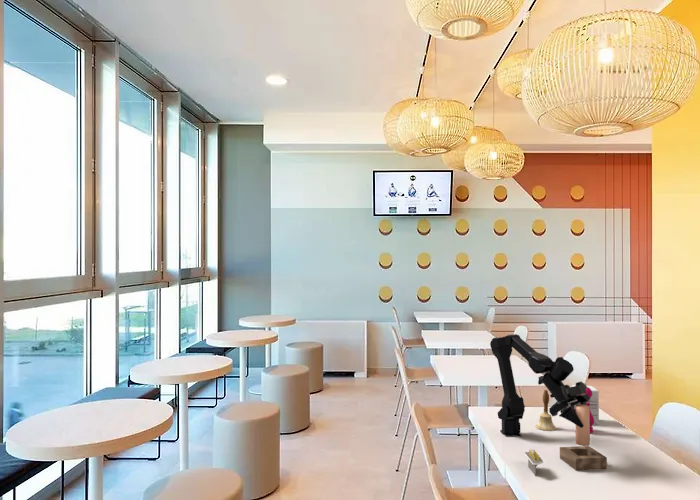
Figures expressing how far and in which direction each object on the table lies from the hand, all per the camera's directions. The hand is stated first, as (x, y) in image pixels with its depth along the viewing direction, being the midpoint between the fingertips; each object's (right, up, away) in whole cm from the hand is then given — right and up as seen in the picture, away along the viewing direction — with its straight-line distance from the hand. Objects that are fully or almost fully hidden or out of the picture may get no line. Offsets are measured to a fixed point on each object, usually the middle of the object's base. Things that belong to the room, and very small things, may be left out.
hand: (586, 425), depth 181 cm
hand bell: (+1, -15, +40) cm, 43 cm away
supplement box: (+21, -15, +48) cm, 54 cm away
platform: (-20, -14, -6) cm, 25 cm away
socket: (-1, -14, +1) cm, 14 cm away
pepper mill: (+15, -14, +35) cm, 41 cm away
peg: (-1, -7, +1) cm, 7 cm away
